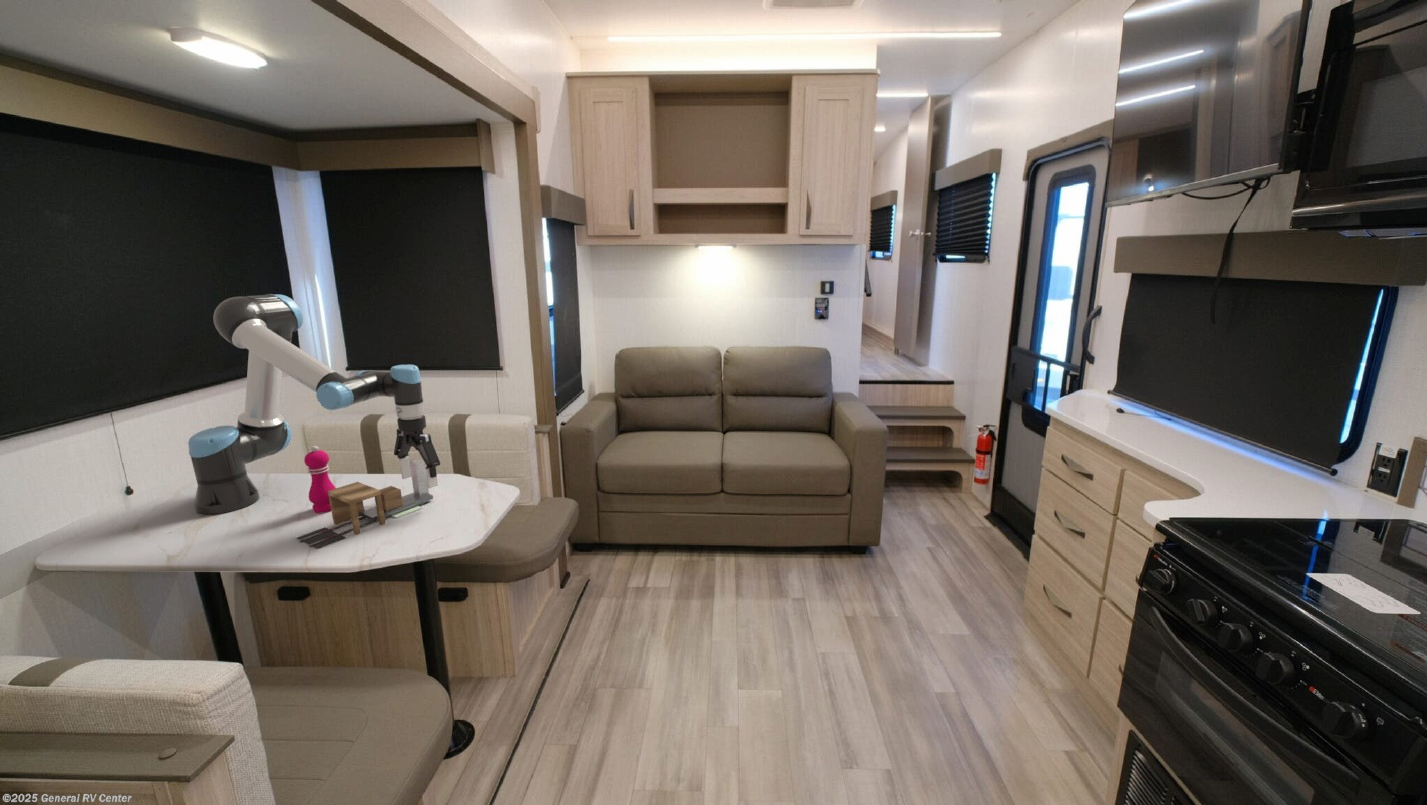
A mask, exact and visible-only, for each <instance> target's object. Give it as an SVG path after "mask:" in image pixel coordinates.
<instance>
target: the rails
mask: <svg viewBox="0 0 1427 805" xmlns="http://www.w3.org/2000/svg"><path fill="white" fill-rule="evenodd" d="M424 504H426V502H423V503H421V504H418V505H415V506H420V507H421V506H423V505H424ZM415 506H413V507H415ZM410 508H412V507H410ZM408 509H409V508H408ZM405 510H407V509H405ZM402 511H404V510H402ZM402 511H400V512H402ZM397 513H399V512H397ZM394 514H396V513H394ZM394 514H392V515H394ZM391 517H392V516H391V515H389V516H387V517H385V520H386V519H388V518H391ZM358 519H359V522H360V521H363V520H365V519H366V518H364V517H361V516H360V517H358ZM366 520H367V519H366ZM376 523H379V521H378V520H376V521H370V520H369V521H368V522H365V523H362V524H359V525H360V529H362V528H365V527H367V526H369V525H372V524H376ZM349 525H352V520H349V521H346V522H344V523H341V524H338V525H335V526H333V527H331V528H328V530H325V531H322V532H320V533H317V534H314V535H312V536H309V537H306V538H303V539H301V540H299V539H298V540H299V543H304V542H303V540H306V539H309V538H312V537H314V536H317V535H320V534H322V533H325V532H328V531H330V530H332V531H336V530H338V529H341V528H343V527H346V526H349ZM352 532H354V531H353V527H351V528H350V529H347V530H345V531H342V532H339V533H338V534H336V535H333V536H331V537H328V538H325V539H323V540H320V541H317V542H315V543H312V544H308V547H309V548H312V547H313V546H312V545H315V544H318V543H320V542H323V541H325V540H328V539H331V538H333V537H336V536H339V535H342V536H345V535H346V534H349V533H352ZM313 548H314V547H313Z"/></svg>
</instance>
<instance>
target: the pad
mask: <svg viewBox="0 0 1427 805" xmlns="http://www.w3.org/2000/svg"><path fill="white" fill-rule="evenodd" d="M422 509H423V507H422V506H421V505H420V506H415V507H412V508H409V509H407V510H404V511H402V512H399V513H396V514H394V515H391V517H392V518H395V519H399V518H401V517H403V516H406V515H410V514H411V513H414V512H416V511H419V510H422Z"/></svg>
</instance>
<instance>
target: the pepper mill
mask: <svg viewBox="0 0 1427 805" xmlns="http://www.w3.org/2000/svg"><path fill="white" fill-rule="evenodd" d="M310 450H311V451H309V452H308V453H306V455H305V456H304V462H303V463H304V464H305V466H307V467H308V468H307V470H308V473H309V474H310V476H311V485H310V488H309V492H308V500H309V502H310V503H312V505H311V506H312V510H313V512H314V513H316V514H325V513H329V512H332V511H331V506H330V500H329V495H328V491H330V490H333V489H336V486H335V485H334V484H333V482H332V481H331V479H330V477H329V470H330V468H329V464H328V463H329V462H330V456H329V454H328V453H327V452H326V451H324V450H320V448H319V446H317V445H313V446H311V448H310Z"/></svg>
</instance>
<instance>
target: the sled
mask: <svg viewBox="0 0 1427 805" xmlns="http://www.w3.org/2000/svg"><path fill="white" fill-rule="evenodd" d="M426 467H427V466H426V464H425V462H424V460H423V459H420V458H418V459H415V460H412V461H410V469H411V476H412V477H411V482H412V488H413V492H412V493H411V492H410V493H408V494H406V495H403V496H402V502H403V505H401V506H399V507H396V508H393V509H390V510H388V511H385V510H383V511H384V517H387V516H389V515H392V514H394V513H397V512H400V511H402V510H405V509H408V508H410V507H413V506H415V505H418V504H421V503H423V502H425V503H426V502H428V501H431V500H433V499H434V495H433V494H431V493H430V492H429V488H428V484H427V476H426V469H425V468H426ZM359 514H360V517H364V518H366V520H369V522H370V521H376V520H378V515H377V509H376V505H375V506H373V507H370V508H366V509H364V511H361V512H359Z"/></svg>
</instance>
